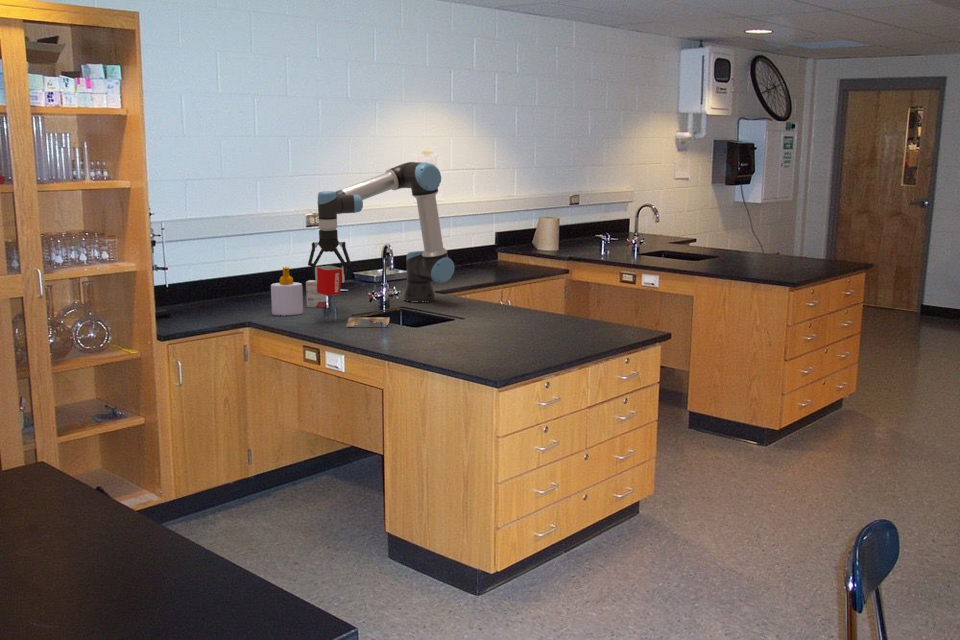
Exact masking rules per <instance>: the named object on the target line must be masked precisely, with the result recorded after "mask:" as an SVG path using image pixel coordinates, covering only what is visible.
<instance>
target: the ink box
mask: <svg viewBox="0 0 960 640" xmlns="http://www.w3.org/2000/svg"><path fill="white" fill-rule="evenodd" d="M305 290H306V291H305V293H306V294H305V295H306V307H307V308H326V307H325V302H326V295H323V294H320V293H317V283H316V279H315V280H313V279H312V280H311V279H309V280H307V281H306V282H305Z"/></svg>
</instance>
